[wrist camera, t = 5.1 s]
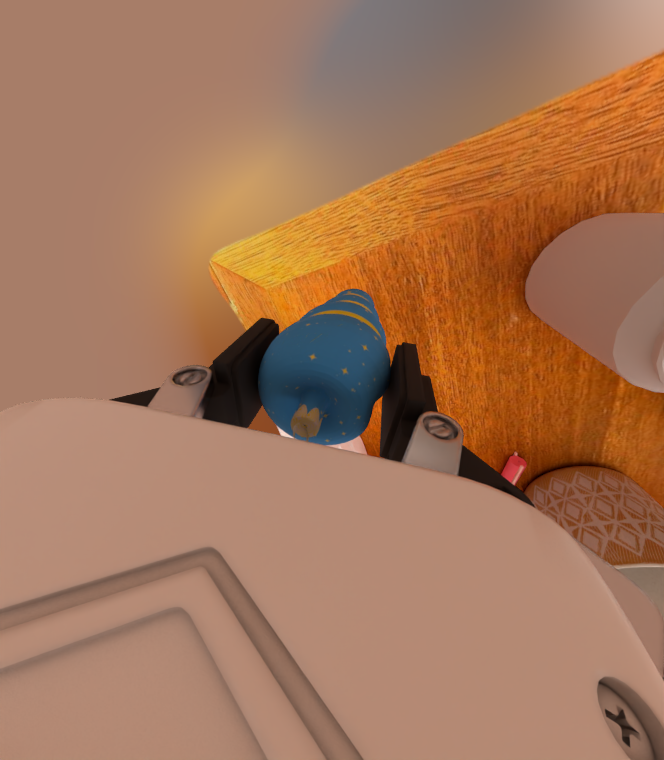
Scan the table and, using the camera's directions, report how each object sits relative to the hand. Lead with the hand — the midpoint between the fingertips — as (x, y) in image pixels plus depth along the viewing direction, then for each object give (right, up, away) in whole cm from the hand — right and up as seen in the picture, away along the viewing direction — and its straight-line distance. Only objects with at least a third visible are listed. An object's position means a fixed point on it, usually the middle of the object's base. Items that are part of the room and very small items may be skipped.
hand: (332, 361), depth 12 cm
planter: (+29, -14, +19) cm, 38 cm away
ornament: (+2, +6, +8) cm, 10 cm away
